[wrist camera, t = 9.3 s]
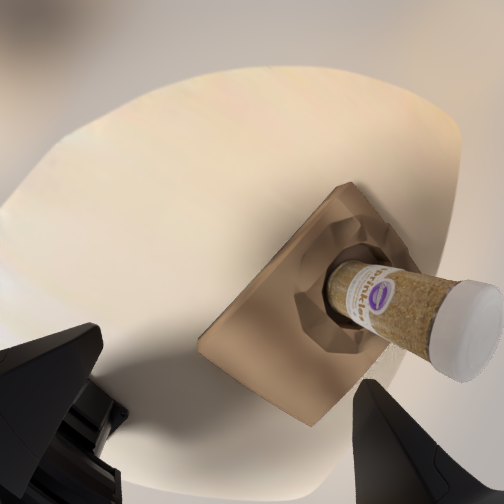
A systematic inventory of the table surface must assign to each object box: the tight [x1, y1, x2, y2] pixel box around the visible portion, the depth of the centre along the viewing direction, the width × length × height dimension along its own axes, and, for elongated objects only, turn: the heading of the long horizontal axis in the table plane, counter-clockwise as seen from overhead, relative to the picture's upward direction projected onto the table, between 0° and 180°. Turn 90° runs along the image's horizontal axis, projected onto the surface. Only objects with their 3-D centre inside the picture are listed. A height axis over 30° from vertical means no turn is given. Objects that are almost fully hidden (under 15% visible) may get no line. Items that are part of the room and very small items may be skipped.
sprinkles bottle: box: [326, 260, 504, 383], centre depth 15 cm, size 5×5×14 cm
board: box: [198, 182, 422, 427], centre depth 20 cm, size 16×12×2 cm
